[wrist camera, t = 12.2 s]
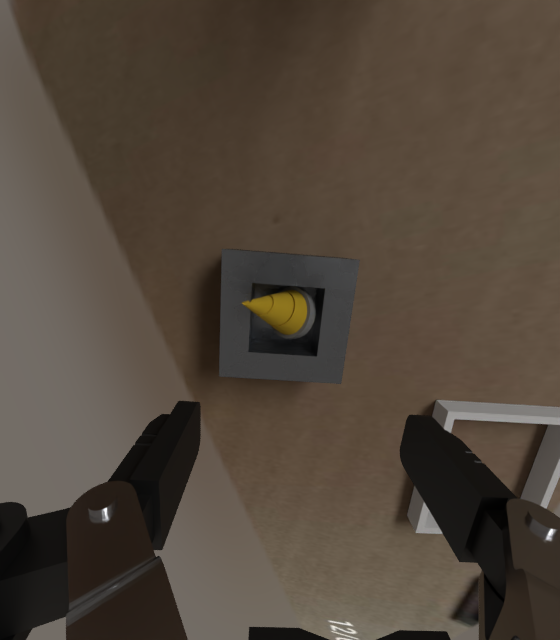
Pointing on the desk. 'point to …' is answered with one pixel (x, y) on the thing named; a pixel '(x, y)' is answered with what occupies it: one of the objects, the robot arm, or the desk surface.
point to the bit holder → (258, 336)
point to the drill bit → (286, 311)
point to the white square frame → (556, 448)
